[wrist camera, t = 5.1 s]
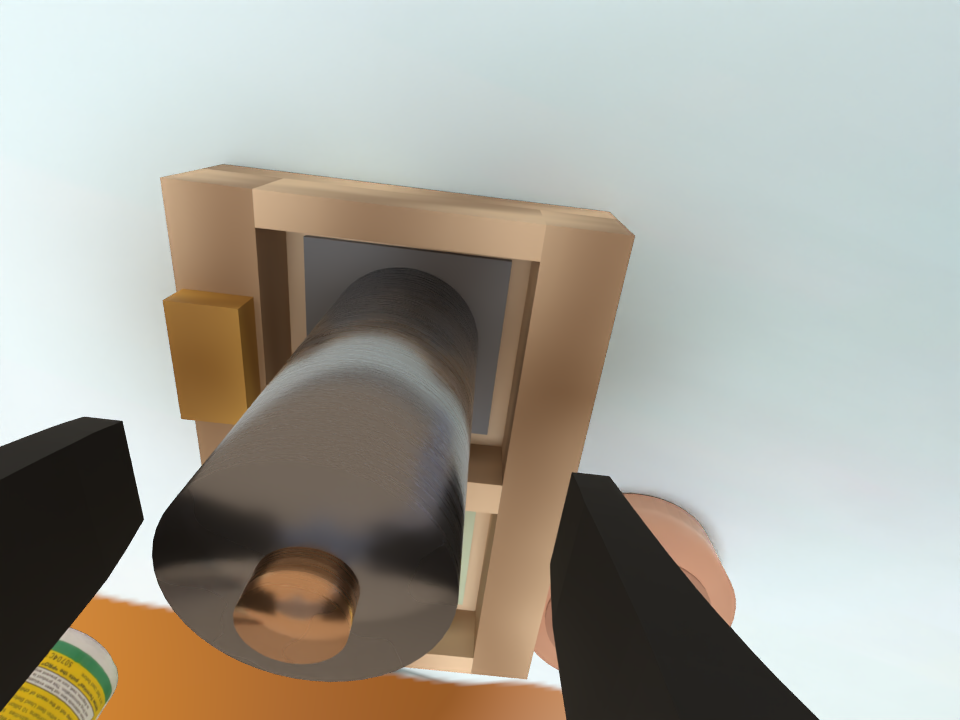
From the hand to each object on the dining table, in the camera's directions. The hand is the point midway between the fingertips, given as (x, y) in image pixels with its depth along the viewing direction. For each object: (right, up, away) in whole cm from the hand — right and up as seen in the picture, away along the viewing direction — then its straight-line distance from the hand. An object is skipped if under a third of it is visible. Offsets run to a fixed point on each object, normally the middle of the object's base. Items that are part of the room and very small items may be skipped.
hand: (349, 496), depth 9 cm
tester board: (0, 0, +8) cm, 8 cm away
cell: (0, +3, +5) cm, 6 cm away
